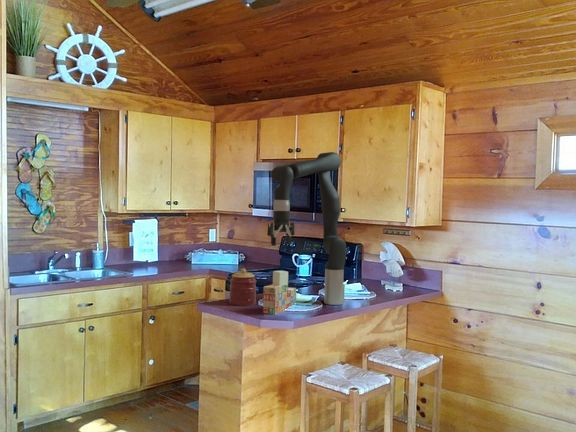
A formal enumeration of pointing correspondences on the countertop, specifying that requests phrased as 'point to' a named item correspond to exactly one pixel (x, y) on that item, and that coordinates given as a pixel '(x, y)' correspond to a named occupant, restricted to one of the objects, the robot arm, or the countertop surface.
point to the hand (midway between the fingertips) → (280, 245)
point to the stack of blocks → (278, 298)
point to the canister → (243, 289)
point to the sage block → (280, 278)
